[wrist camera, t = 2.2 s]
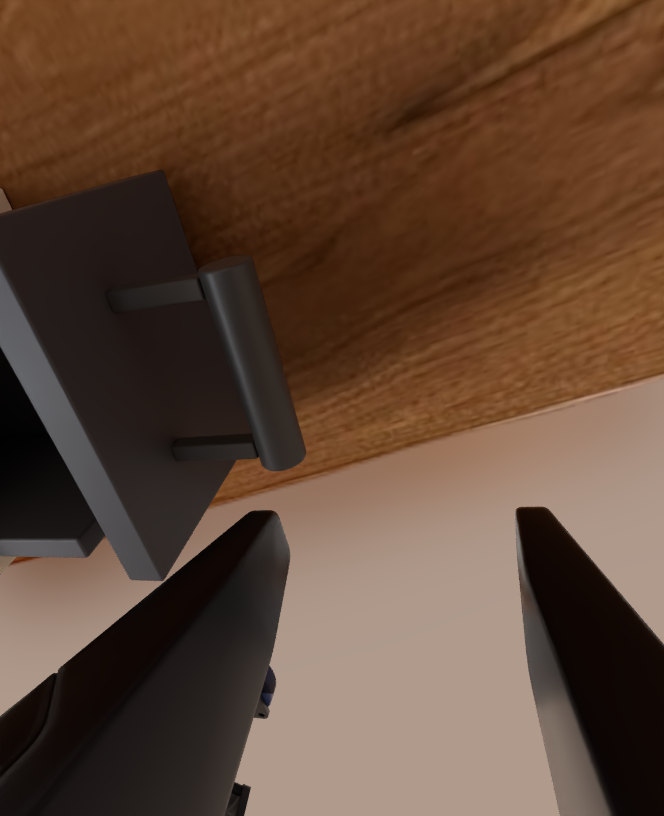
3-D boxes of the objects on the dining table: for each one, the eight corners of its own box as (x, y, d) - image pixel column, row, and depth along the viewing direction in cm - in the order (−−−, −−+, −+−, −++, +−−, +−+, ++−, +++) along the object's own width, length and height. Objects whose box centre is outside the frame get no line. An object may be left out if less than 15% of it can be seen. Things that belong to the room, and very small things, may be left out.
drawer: (284, 141, 16) (158, 181, 9) (349, 428, 21) (297, 586, 14) (-112, 232, 20) (-379, 300, 14) (18, 448, 25) (-134, 573, 19)
